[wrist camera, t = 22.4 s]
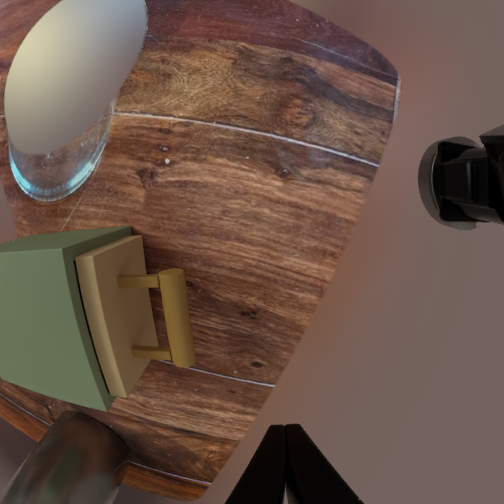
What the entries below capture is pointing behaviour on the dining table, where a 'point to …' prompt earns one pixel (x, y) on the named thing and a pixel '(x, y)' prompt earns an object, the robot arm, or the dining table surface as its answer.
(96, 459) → the round grey canister
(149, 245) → the dining table surface
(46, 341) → the cabinet
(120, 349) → the drawer
